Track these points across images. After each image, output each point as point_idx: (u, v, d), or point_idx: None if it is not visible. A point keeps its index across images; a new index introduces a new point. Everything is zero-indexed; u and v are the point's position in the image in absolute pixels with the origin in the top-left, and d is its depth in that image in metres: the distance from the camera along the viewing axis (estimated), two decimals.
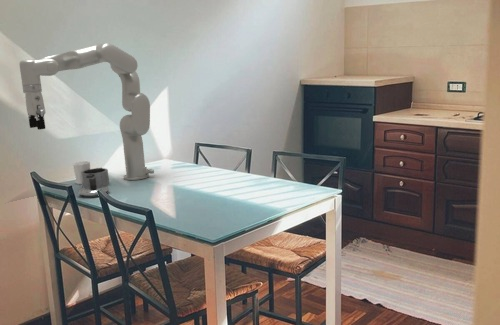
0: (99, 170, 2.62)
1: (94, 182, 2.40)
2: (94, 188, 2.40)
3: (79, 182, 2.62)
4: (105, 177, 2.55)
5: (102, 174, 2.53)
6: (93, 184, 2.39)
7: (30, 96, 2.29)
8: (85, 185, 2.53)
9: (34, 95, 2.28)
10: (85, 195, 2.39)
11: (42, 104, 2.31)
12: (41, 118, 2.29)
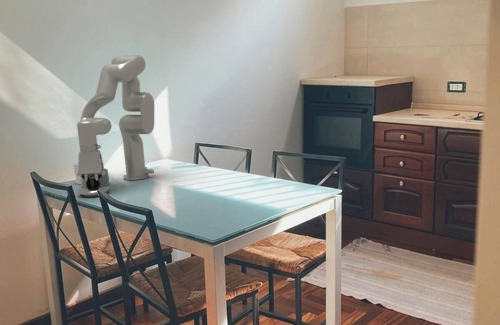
0: None
1: (94, 182, 2.40)
2: (93, 187, 2.40)
3: (79, 182, 2.62)
4: (105, 177, 2.55)
5: None
6: (93, 184, 2.39)
7: (95, 155, 2.36)
8: (85, 185, 2.53)
9: (98, 154, 2.37)
10: (85, 195, 2.39)
11: (102, 161, 2.40)
12: (99, 178, 2.40)
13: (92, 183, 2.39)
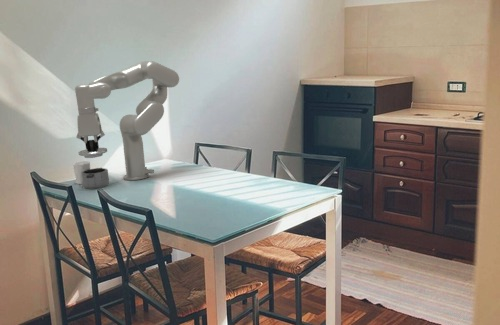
0: (99, 170, 2.62)
1: (93, 144, 2.51)
2: (93, 149, 2.51)
3: (79, 182, 2.62)
4: (105, 177, 2.55)
5: (102, 174, 2.53)
6: (92, 145, 2.51)
7: (93, 117, 2.47)
8: (85, 185, 2.53)
9: (97, 116, 2.48)
10: (85, 156, 2.50)
11: (100, 124, 2.51)
12: (98, 139, 2.51)
13: (91, 145, 2.50)
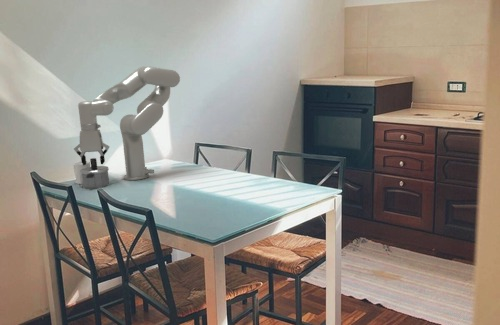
0: None
1: (95, 162, 2.55)
2: (94, 167, 2.55)
3: (79, 182, 2.62)
4: (105, 177, 2.55)
5: (102, 174, 2.53)
6: (94, 164, 2.55)
7: (95, 134, 2.51)
8: (85, 185, 2.53)
9: (98, 132, 2.52)
10: None
11: None
12: (104, 153, 2.55)
13: (93, 163, 2.55)
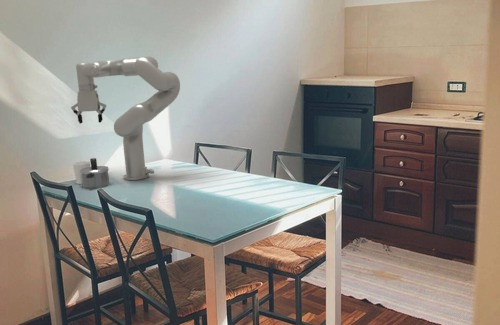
0: None
1: (95, 162, 2.55)
2: (94, 167, 2.55)
3: (79, 182, 2.62)
4: (105, 177, 2.55)
5: (102, 174, 2.53)
6: (94, 164, 2.55)
7: (92, 94, 2.63)
8: (85, 185, 2.53)
9: (95, 93, 2.64)
10: None
11: None
12: (102, 112, 2.67)
13: (93, 163, 2.55)
